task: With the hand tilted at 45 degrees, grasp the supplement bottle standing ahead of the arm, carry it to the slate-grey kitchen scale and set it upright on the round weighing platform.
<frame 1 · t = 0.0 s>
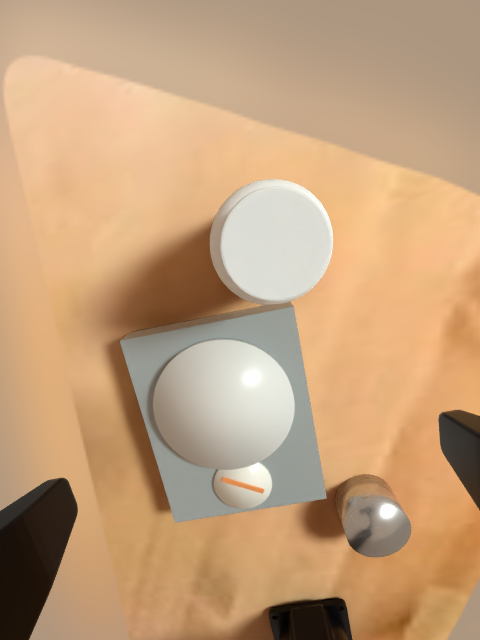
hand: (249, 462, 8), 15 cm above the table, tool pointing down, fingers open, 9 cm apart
scale: (230, 409, 24), on the table
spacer: (363, 498, 25), on the table
supplement bottle: (263, 243, 21), on the table
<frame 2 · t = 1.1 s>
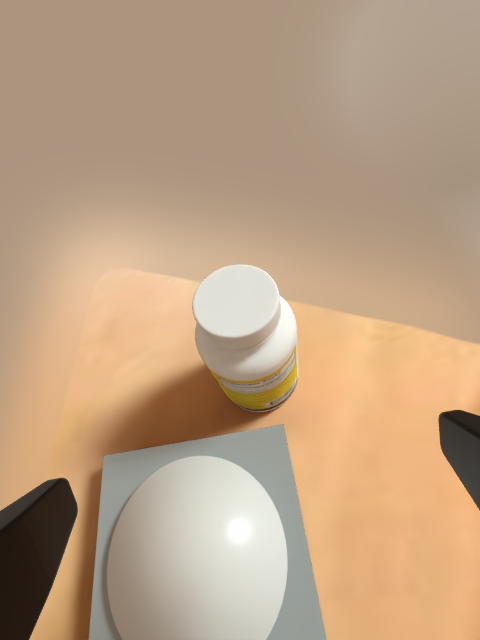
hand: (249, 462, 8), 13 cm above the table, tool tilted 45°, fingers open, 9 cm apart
scale: (209, 583, 17), on the table
supplement bottle: (259, 376, 23), on the table
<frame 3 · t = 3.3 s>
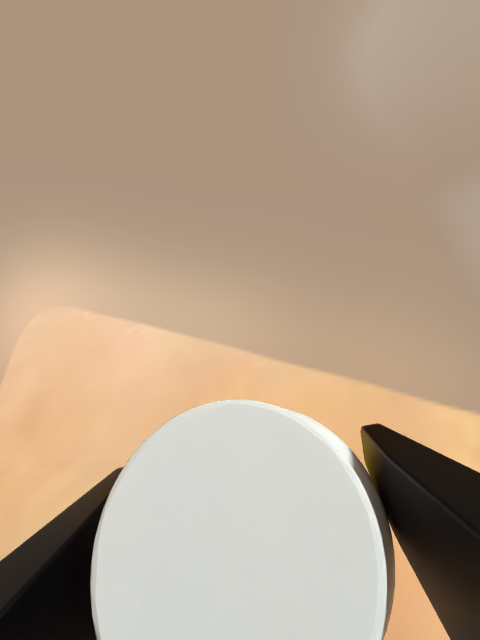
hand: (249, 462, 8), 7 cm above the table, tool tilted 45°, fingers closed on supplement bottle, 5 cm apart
supplement bottle: (277, 523, 13), on the table, touching gripper
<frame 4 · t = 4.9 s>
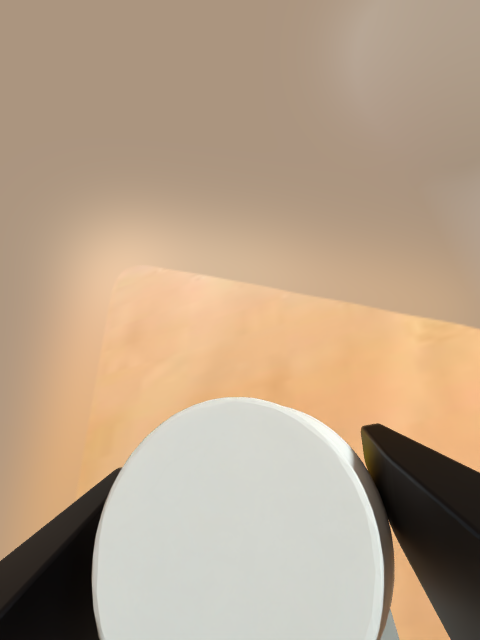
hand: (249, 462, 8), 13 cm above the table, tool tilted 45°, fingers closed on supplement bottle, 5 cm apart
supplement bottle: (279, 521, 13), point 6 cm above the table, touching gripper
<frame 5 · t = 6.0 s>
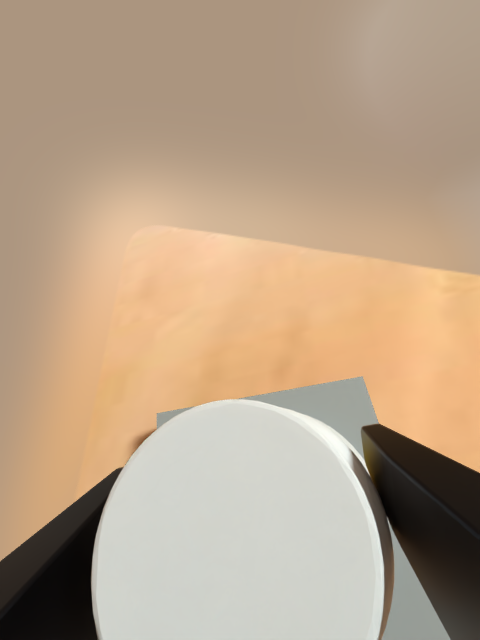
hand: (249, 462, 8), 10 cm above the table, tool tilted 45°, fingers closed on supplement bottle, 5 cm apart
scale: (286, 552, 15), on the table
supplement bottle: (278, 522, 13), point 4 cm above the table, touching gripper
when the fingers open (10 cm above the table, at t = 6.0 s): supplement bottle drops 1 cm, resting on scale.
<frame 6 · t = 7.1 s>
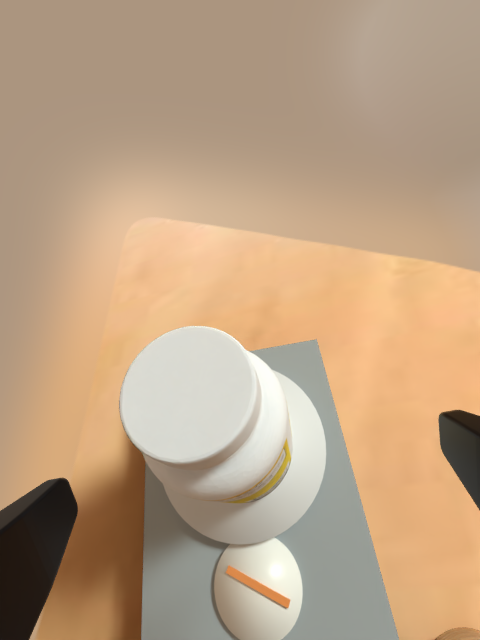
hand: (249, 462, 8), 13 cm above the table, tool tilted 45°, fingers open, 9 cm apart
scale: (249, 477, 19), on the table
supplement bottle: (241, 447, 18), point 2 cm above the table, touching scale
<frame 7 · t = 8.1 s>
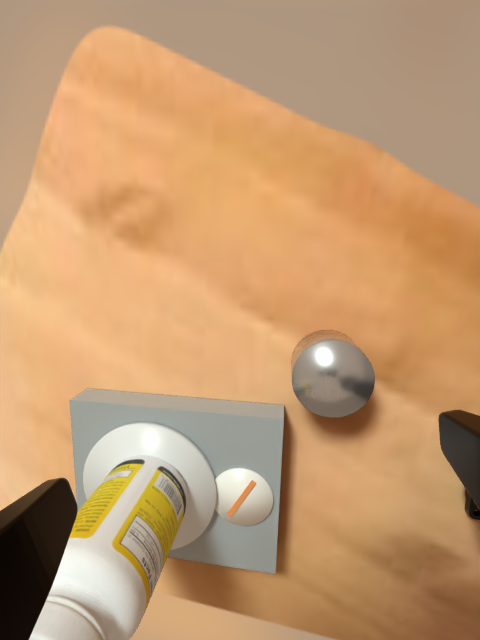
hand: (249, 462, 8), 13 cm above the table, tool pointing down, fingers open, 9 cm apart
scale: (182, 468, 24), on the table
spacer: (326, 363, 21), on the table
supplement bottle: (151, 488, 21), point 2 cm above the table, touching scale
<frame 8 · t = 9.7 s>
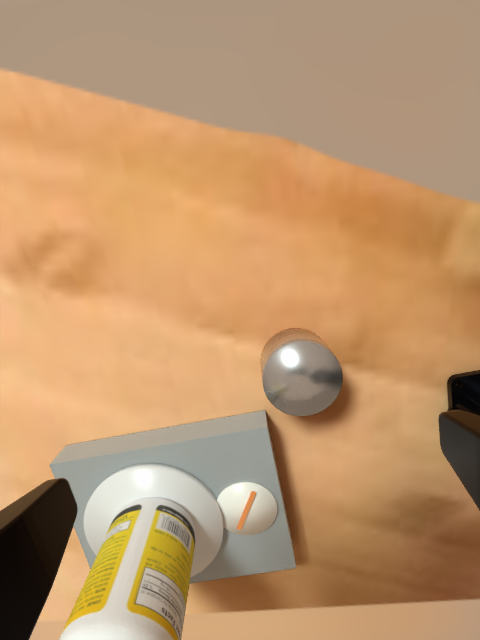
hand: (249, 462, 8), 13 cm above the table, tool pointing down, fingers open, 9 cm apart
scale: (183, 495, 23), on the table
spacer: (294, 360, 21), on the table
supplement bottle: (156, 526, 21), point 2 cm above the table, touching scale
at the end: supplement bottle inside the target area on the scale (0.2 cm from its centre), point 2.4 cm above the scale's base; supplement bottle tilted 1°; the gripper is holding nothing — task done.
